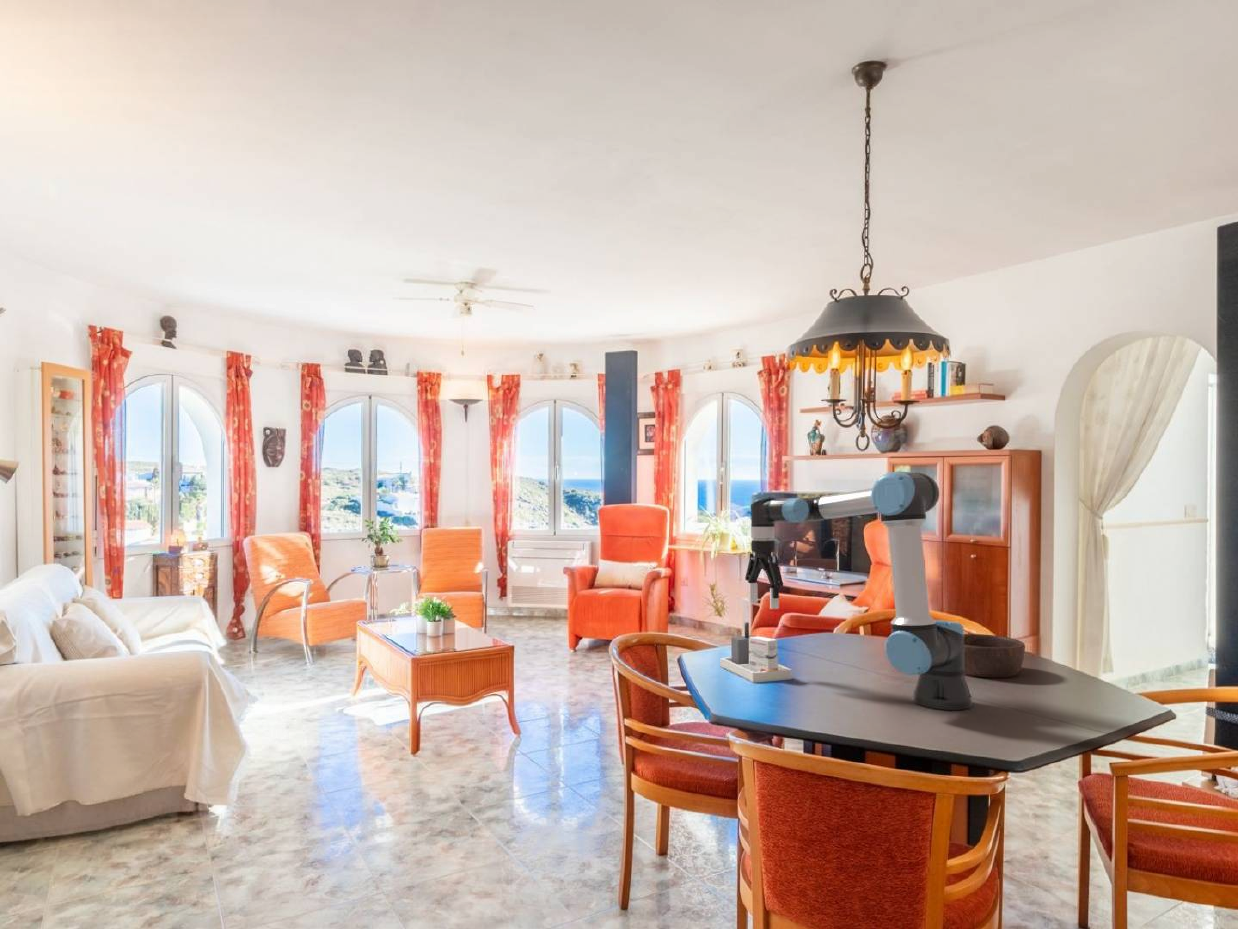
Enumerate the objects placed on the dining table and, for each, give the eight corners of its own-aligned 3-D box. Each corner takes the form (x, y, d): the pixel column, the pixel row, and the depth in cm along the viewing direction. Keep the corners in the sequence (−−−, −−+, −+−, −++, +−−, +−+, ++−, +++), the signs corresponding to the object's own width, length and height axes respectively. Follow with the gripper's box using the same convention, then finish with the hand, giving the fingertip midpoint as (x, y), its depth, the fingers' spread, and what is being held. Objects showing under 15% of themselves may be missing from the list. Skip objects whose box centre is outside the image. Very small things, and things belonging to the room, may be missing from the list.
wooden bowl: (1040, 673, 249) (1040, 642, 250) (998, 685, 235) (998, 651, 236) (968, 660, 270) (968, 630, 270) (926, 669, 256) (925, 638, 256)
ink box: (778, 676, 244) (778, 639, 245) (768, 678, 241) (768, 641, 242) (758, 671, 251) (757, 635, 252) (748, 674, 248) (747, 637, 248)
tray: (792, 679, 243) (792, 668, 243) (752, 682, 238) (752, 672, 238) (757, 664, 264) (756, 654, 265) (720, 667, 260) (720, 657, 260)
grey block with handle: (762, 668, 256) (762, 623, 256) (738, 670, 253) (738, 624, 253) (755, 665, 260) (755, 620, 261) (731, 667, 258) (731, 622, 258)
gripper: (793, 541, 237) (794, 610, 236) (754, 537, 261) (755, 600, 260) (772, 542, 235) (773, 611, 234) (734, 538, 258) (735, 601, 258)
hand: (763, 605), depth 247 cm, fingers open, 13 cm apart
